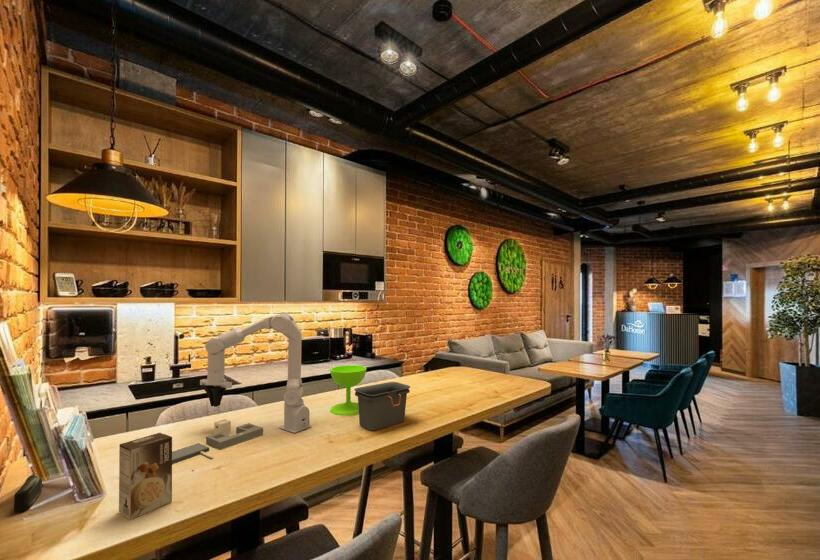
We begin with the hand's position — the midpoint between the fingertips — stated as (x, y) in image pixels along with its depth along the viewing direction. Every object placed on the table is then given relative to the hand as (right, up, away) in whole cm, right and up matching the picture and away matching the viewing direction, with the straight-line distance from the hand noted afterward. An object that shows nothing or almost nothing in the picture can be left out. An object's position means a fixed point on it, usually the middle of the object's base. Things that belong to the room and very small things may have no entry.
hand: (215, 405), depth 140 cm
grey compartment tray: (+11, -9, -8) cm, 16 cm away
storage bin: (+63, -10, +6) cm, 64 cm away
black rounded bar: (-22, -3, -46) cm, 51 cm away
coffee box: (+9, -8, -50) cm, 51 cm away
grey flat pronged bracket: (+4, -9, -23) cm, 25 cm away
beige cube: (+4, -9, -3) cm, 11 cm away
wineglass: (+46, -10, +25) cm, 53 cm away
